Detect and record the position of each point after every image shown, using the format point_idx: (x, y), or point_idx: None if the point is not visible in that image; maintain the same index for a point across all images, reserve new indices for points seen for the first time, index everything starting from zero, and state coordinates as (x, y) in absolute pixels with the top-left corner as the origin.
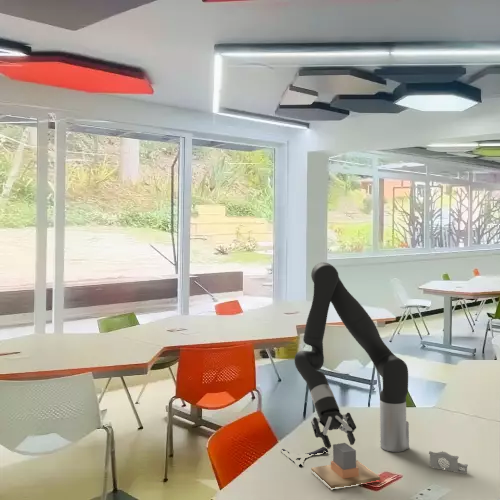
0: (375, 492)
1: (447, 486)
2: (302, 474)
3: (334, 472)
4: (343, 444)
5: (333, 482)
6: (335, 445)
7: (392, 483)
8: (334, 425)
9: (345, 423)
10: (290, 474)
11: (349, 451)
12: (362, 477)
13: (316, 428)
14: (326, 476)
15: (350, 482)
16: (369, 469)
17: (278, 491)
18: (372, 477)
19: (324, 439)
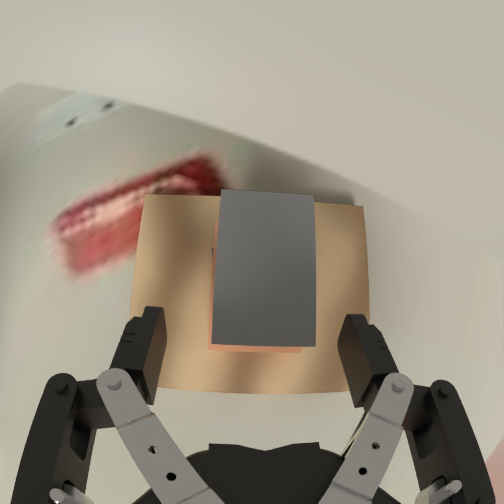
0: (217, 147)
1: (29, 126)
2: None
3: None
4: (241, 318)
5: (345, 223)
6: (307, 323)
7: (121, 179)
8: (276, 458)
9: (132, 434)
10: None
11: (269, 192)
12: (211, 215)
13: (466, 420)
14: (348, 284)
15: None
16: (135, 271)
17: (487, 278)
18: (174, 200)
19: (392, 357)
